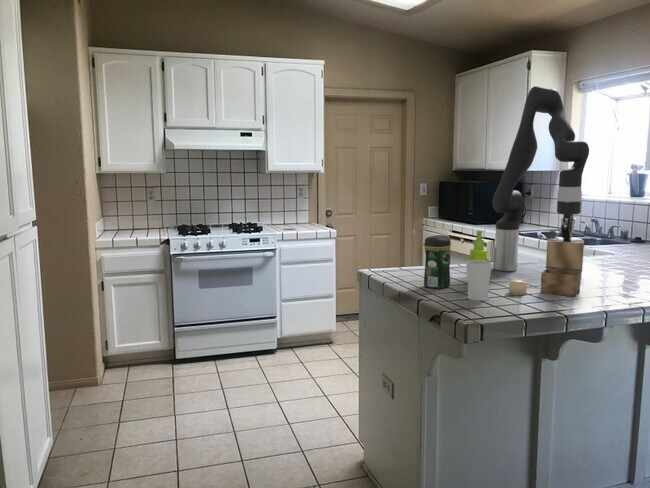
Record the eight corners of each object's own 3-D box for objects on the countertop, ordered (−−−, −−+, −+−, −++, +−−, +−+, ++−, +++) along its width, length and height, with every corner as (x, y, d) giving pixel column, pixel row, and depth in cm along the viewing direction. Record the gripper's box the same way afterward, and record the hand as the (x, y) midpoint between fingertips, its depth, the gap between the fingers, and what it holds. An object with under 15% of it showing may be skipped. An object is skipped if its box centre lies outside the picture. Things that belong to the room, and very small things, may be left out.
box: (540, 292, 182) (541, 272, 181) (545, 288, 190) (546, 268, 189) (575, 296, 176) (577, 275, 176) (579, 291, 184) (580, 271, 183)
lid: (547, 240, 187) (547, 240, 188) (545, 268, 189) (546, 268, 190) (583, 243, 181) (583, 242, 182) (581, 271, 183) (582, 271, 183)
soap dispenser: (486, 284, 196) (488, 230, 193) (485, 288, 189) (487, 232, 187) (469, 283, 198) (471, 229, 195) (468, 287, 191) (470, 231, 189)
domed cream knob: (507, 293, 181) (507, 281, 181) (511, 290, 186) (511, 279, 185) (524, 295, 178) (524, 283, 178) (527, 292, 183) (528, 280, 182)
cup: (461, 295, 178) (463, 260, 176) (485, 295, 179) (486, 259, 177) (470, 301, 170) (471, 264, 169) (494, 301, 171) (496, 263, 169)
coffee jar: (433, 283, 199) (435, 233, 196) (453, 286, 193) (454, 234, 191) (419, 287, 192) (420, 235, 189) (439, 290, 186) (440, 237, 184)
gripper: (560, 198, 192) (558, 246, 195) (554, 200, 181) (551, 251, 184) (583, 198, 188) (581, 247, 191) (578, 201, 177) (575, 253, 180)
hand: (566, 249), depth 187 cm, fingers closed
